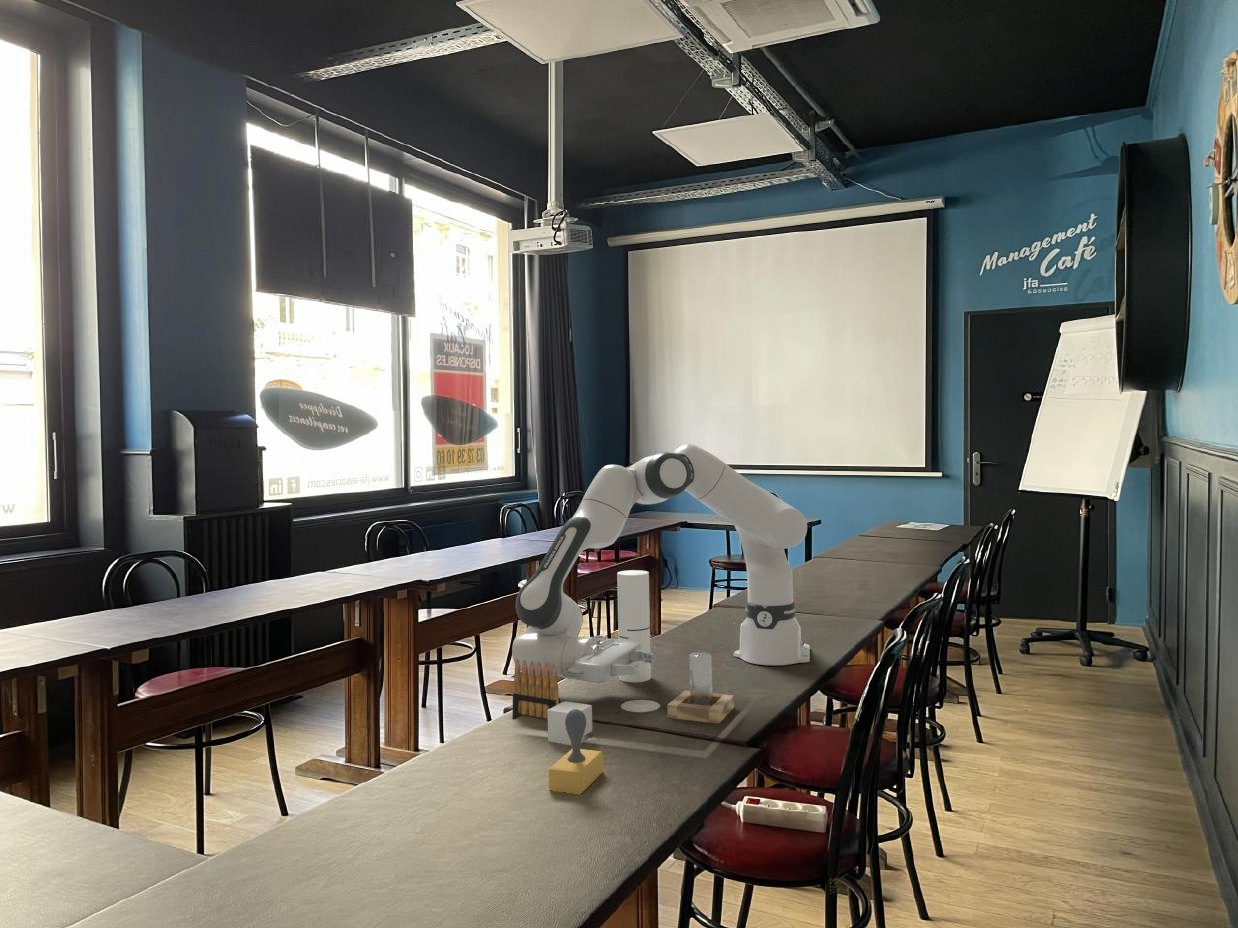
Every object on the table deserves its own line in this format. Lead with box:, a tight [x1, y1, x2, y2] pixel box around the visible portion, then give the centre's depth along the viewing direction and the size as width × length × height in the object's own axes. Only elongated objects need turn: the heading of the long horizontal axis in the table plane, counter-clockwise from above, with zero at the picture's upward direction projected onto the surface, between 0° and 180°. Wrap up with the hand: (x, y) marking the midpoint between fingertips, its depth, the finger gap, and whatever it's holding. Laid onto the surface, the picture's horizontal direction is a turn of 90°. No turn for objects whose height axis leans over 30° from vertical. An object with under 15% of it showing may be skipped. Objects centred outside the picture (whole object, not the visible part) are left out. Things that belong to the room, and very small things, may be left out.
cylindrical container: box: [616, 569, 652, 683], centre depth 206 cm, size 7×7×25 cm
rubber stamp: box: [548, 709, 604, 796], centre depth 149 cm, size 10×6×12 cm, turn 160°
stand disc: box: [620, 699, 661, 713], centre depth 186 cm, size 8×8×1 cm
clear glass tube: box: [689, 651, 713, 706], centre depth 180 cm, size 4×4×12 cm
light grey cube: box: [547, 700, 593, 747], centre depth 170 cm, size 6×6×6 cm
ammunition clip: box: [512, 659, 561, 721], centre depth 180 cm, size 11×2×12 cm, turn 60°
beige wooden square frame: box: [666, 690, 735, 724], centre depth 180 cm, size 10×10×4 cm
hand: (645, 663), depth 185 cm, fingers open, 8 cm apart
